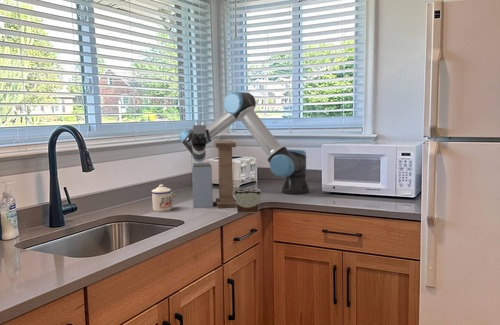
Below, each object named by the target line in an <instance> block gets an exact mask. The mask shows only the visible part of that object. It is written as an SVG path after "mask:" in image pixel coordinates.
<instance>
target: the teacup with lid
mask: <svg viewBox="0 0 500 325" xmlns="http://www.w3.org/2000/svg"><path fill="white" fill-rule="evenodd" d="M151 195H152V196H151V197H152V198H151V199H152V200H151V201H152V210H153V212H159V213H160V212H168V211H171V210H172V209H173V206H172V204H173V202H174V201H175V199H176V196H175V195H176V194H175V192H173V191H172V189H171V188H168V187H166V186H165V185H164V184H159V185H158V187H156V188H154V189H152V190H151Z"/></svg>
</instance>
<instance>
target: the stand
mask: <svg viewBox="0 0 500 325" xmlns="http://www.w3.org/2000/svg"><path fill="white" fill-rule="evenodd" d="M213 145H214V147H215V148H216V149H217V158H218V159H217V160H218V162H217V163H218V198H217V197H216V198H215V204H216V207H217V209H229V208H230V209H231V208H237V206H236V198H235V197H234V180H233V178H234V177H233V174H234V173H233V171H234V170H233V148H236V147H237V146H236V145H237V144H236V142H235V141H233V140H225V141H224V140H222V141H221V140H220V141H213Z"/></svg>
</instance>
